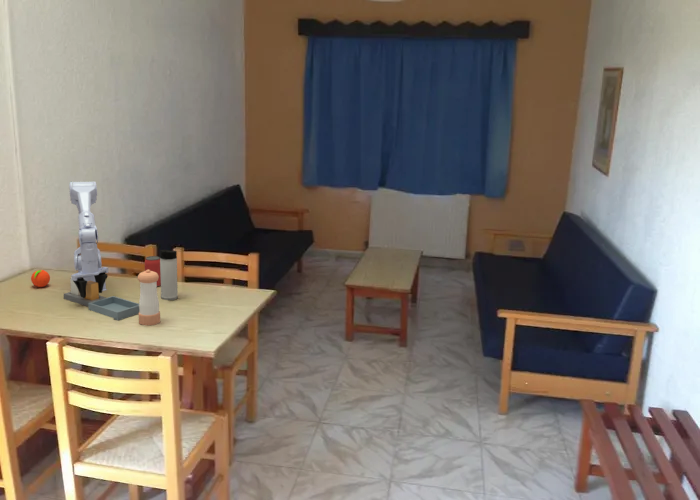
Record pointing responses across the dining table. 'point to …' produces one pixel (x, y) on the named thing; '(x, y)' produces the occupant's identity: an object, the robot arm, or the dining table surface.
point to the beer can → (153, 266)
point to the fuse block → (79, 299)
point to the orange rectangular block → (92, 290)
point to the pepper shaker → (148, 298)
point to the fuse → (74, 288)
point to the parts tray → (115, 307)
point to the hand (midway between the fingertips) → (91, 294)
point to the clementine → (40, 278)
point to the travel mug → (168, 274)
